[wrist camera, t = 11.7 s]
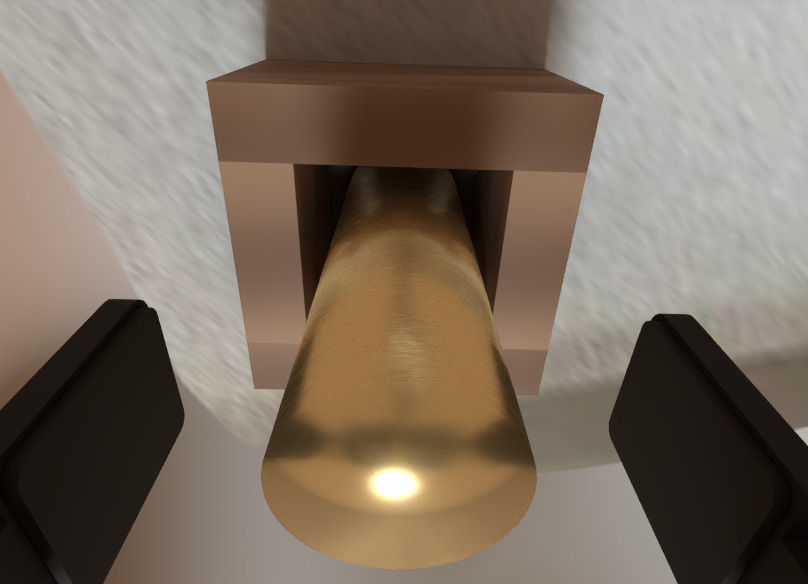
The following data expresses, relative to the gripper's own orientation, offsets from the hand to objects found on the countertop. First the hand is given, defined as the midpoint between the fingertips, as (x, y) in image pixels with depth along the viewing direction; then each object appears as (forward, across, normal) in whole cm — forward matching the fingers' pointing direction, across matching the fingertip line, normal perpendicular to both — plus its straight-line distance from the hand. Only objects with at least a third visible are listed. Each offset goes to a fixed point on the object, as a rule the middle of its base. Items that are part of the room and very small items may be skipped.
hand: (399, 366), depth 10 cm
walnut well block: (+12, 0, +1) cm, 12 cm away
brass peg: (+12, 0, +1) cm, 12 cm away
